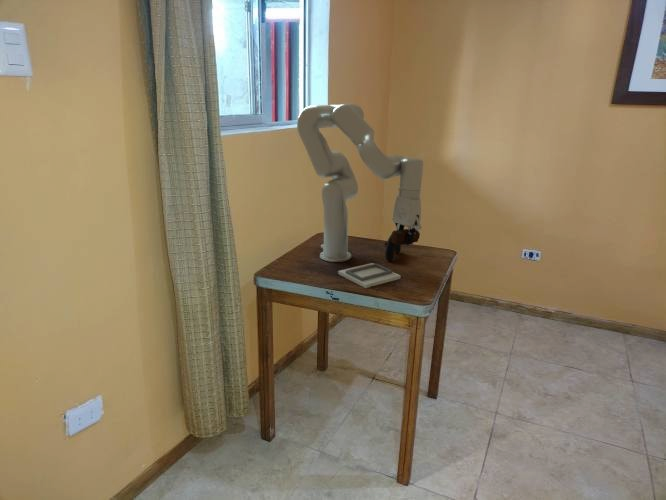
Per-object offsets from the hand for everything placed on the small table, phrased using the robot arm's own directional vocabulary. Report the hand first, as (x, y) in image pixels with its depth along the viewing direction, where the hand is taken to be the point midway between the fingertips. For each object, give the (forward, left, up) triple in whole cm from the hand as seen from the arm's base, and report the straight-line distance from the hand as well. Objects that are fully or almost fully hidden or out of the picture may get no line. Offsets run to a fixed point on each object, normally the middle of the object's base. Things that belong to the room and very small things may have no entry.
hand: (404, 241), depth 169 cm
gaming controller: (-14, +7, -11) cm, 20 cm away
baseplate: (-2, -15, -11) cm, 19 cm away
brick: (0, 0, 0) cm, 1 cm away
